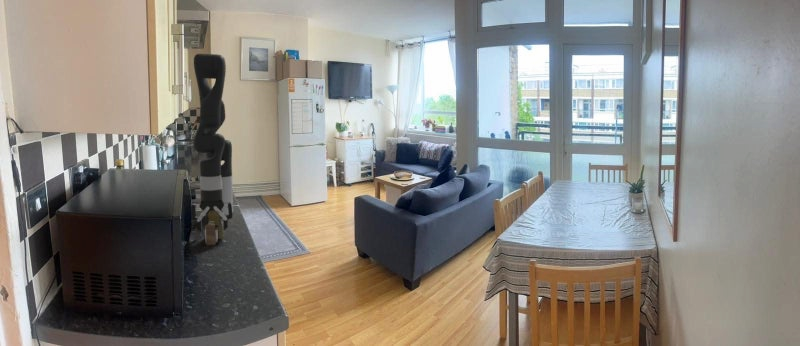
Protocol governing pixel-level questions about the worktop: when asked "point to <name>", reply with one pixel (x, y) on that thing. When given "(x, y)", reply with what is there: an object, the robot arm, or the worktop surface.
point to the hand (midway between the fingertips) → (212, 230)
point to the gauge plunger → (215, 233)
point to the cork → (216, 221)
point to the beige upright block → (210, 233)
